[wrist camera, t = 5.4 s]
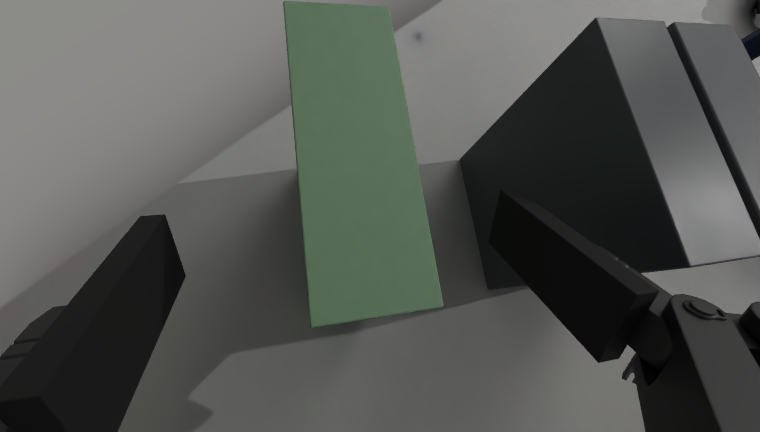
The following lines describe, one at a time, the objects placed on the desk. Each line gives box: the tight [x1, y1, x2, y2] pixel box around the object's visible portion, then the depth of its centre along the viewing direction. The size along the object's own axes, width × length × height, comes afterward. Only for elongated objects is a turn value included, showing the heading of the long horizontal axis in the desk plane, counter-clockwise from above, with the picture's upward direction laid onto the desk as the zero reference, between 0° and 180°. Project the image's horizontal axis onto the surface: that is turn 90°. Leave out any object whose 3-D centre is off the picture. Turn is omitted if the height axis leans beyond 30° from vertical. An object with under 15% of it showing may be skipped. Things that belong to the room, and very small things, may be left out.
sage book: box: [283, 1, 444, 328], centre depth 16 cm, size 4×10×13 cm, turn 8°
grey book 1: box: [460, 18, 760, 290], centre depth 18 cm, size 4×10×13 cm, turn 8°
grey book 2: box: [667, 22, 760, 239], centre depth 19 cm, size 4×10×13 cm, turn 8°
